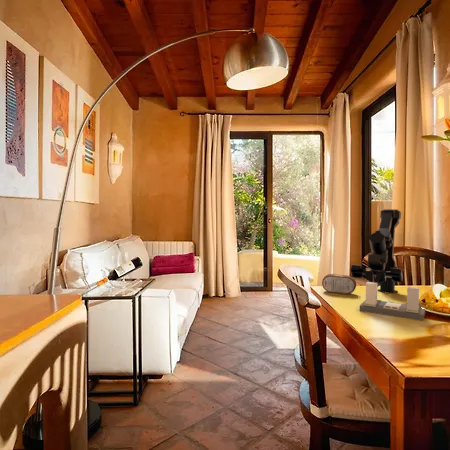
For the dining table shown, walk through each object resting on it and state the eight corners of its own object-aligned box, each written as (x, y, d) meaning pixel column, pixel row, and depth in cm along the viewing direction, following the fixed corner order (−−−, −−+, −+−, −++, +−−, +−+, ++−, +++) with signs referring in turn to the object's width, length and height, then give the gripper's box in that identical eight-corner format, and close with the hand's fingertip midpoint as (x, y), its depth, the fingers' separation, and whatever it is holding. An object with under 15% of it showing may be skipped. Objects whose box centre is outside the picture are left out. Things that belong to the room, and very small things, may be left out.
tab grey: (407, 307, 127) (408, 286, 127) (418, 309, 125) (419, 287, 125) (406, 309, 125) (407, 287, 125) (417, 311, 123) (418, 288, 123)
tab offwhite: (367, 302, 135) (367, 281, 135) (376, 303, 133) (377, 282, 133) (365, 303, 133) (366, 283, 132) (375, 305, 131) (375, 284, 130)
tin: (356, 293, 159) (356, 275, 159) (355, 295, 156) (355, 276, 156) (322, 290, 166) (322, 273, 165) (321, 292, 163) (321, 274, 162)
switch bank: (366, 303, 142) (366, 298, 142) (425, 312, 130) (425, 306, 130) (359, 310, 132) (359, 304, 132) (422, 320, 120) (423, 313, 120)
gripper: (351, 244, 143) (344, 275, 134) (402, 247, 133) (397, 281, 124) (356, 261, 150) (349, 291, 141) (404, 265, 140) (400, 298, 131)
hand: (372, 290), depth 134 cm, fingers closed
